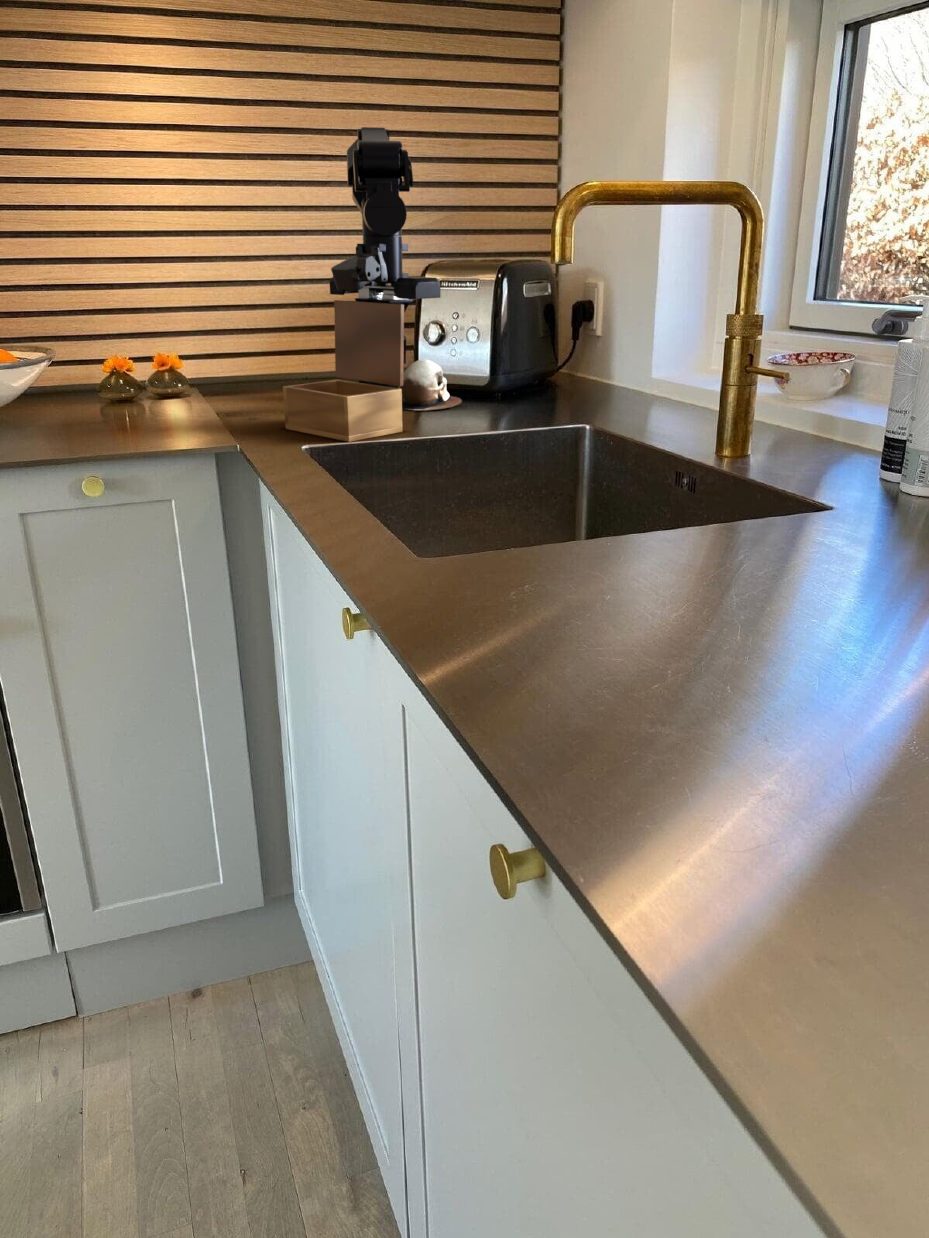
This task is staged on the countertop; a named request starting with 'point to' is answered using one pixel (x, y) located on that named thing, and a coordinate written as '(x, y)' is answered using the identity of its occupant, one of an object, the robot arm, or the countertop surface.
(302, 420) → the chest
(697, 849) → the countertop surface
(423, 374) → the skull
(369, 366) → the lid
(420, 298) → the robot arm
